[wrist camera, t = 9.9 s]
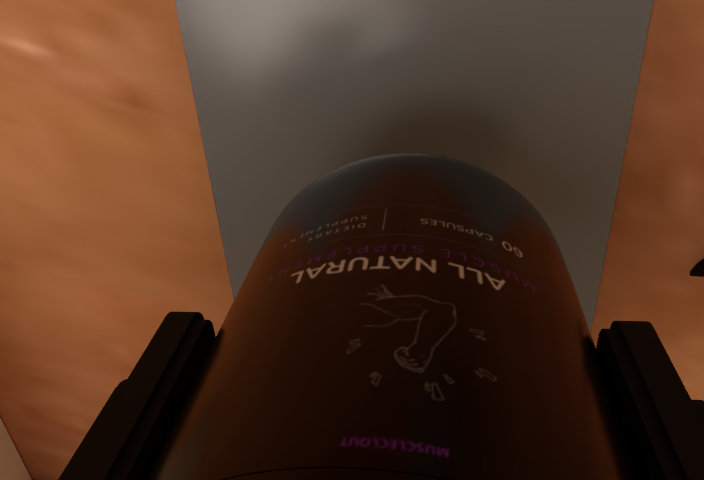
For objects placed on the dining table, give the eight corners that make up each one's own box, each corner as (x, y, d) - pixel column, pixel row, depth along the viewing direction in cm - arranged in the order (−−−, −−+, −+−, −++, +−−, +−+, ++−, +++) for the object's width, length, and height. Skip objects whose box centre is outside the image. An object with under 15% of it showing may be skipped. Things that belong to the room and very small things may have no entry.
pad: (581, 339, 20) (586, 355, 20) (248, 332, 22) (243, 346, 21) (648, -37, 14) (660, -33, 14) (184, -13, 16) (173, -9, 15)
